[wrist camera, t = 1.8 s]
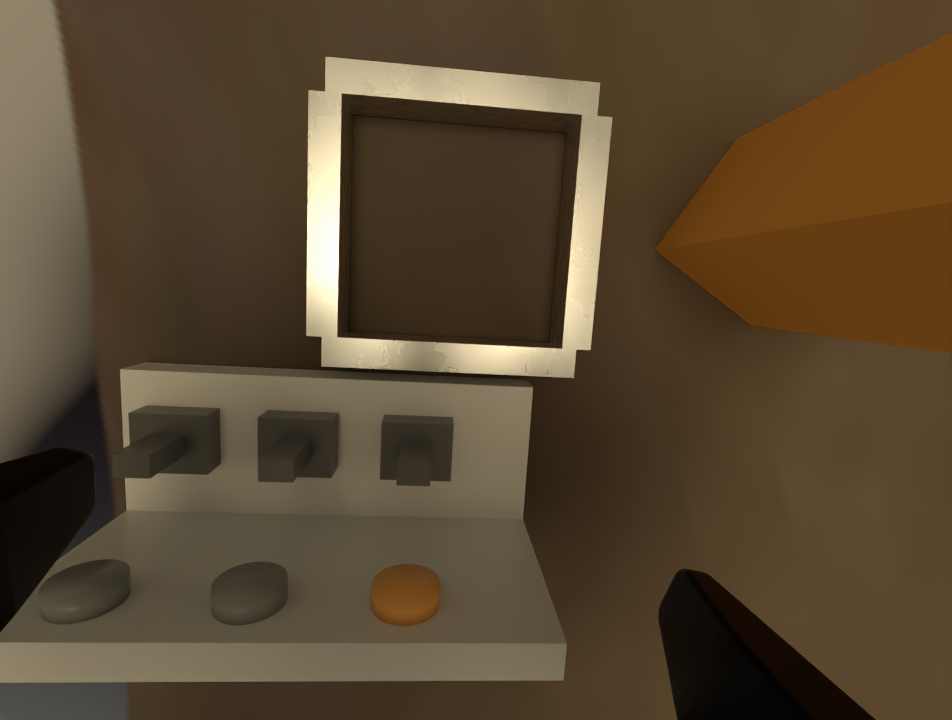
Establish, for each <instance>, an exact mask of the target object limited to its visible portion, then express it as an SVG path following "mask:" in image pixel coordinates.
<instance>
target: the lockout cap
mask: <svg viewBox="0 0 952 720" xmlns="http://www.w3.org/2000/svg"><path fill="white" fill-rule="evenodd" d="M655 250H656V251H657V252H658V253H659V254H661V255H662V256H663V257H664V258H666V259H667V260H668V261H669V262H671V263H672V264H673V265H675V266H676V267H677V268H678V269H680V270H681V271H682V272H683V273H685V274H686V275H687V276H688V277H690V278H691V279H692V280H694V281H695V282H696V283H697V284H699V285H700V286H701V287H702V288H704V289H705V290H706V291H707V292H709V293H710V294H711V295H713V296H714V297H715V298H716V299H718V300H719V301H720V302H721V303H723V304H724V305H725V306H726V307H728V308H729V309H730V310H732V311H733V312H734V313H735V314H737V315H738V316H739V317H740V318H742V319H743V320H744V321H745V322H747V323H748V324H749V325H751V326H756V327H764V328H771V329H779V330H786V331H793V332H801V333H808V334H816V335H823V336H831V337H838V338H845V339H853V340H860V341H868V342H875V343H882V344H890V345H897V346H905V347H912V348H920V349H927V350H934V351H942V352H949V353H952V33H950V34H948V35H946V36H944V37H942V38H940V39H938V40H936V41H934V42H932V43H930V44H928V45H926V46H924V47H922V48H920V49H918V50H915V51H913V52H911V53H909V54H907V55H905V56H903V57H901V58H899V59H897V60H895V61H893V62H891V63H889V64H887V65H885V66H883V67H881V68H879V69H877V70H875V71H873V72H871V73H869V74H867V75H864V76H862V77H860V78H858V79H856V80H854V81H852V82H850V83H848V84H846V85H844V86H842V87H840V88H838V89H836V90H834V91H832V92H830V93H828V94H826V95H824V96H822V97H820V98H818V99H816V100H813V101H811V102H809V103H807V104H805V105H803V106H801V107H799V108H797V109H795V110H793V111H791V112H789V113H787V114H785V115H783V116H781V117H779V118H777V119H775V120H773V121H771V122H769V123H767V124H765V125H762V126H760V127H758V128H756V129H754V130H752V131H750V132H748V133H746V134H744V135H742V136H740V137H738V138H736V140H735V141H734V142H733V144H732V145H731V147H730V148H729V149H728V151H727V152H726V153H725V155H724V156H723V157H722V159H721V160H720V161H719V163H718V164H717V166H716V167H715V168H714V170H713V171H712V172H711V174H710V175H709V176H708V178H707V179H706V180H705V182H704V183H703V185H702V186H701V187H700V189H699V190H698V191H697V193H696V194H695V195H694V197H693V198H692V199H691V201H690V202H689V204H688V205H687V206H686V208H685V209H684V210H683V212H682V213H681V214H680V216H679V217H678V218H677V220H676V221H675V223H674V224H673V225H672V227H671V228H670V229H669V231H668V232H667V233H666V235H665V236H664V237H663V239H662V240H661V242H660V243H659V244H658V246H657V247H656V248H655Z"/></svg>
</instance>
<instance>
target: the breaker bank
mask: <svg viewBox="0 0 952 720" xmlns="http://www.w3.org/2000/svg"><path fill="white" fill-rule="evenodd" d="M120 380H121V402H122V423H123V445H124V448H123V449H121V450H119V451H117V452H115V453H113V454H112V464H113V478H125V489H126V511H125V512H124V513H122V514H121V515H119V516H118V517H117V518H115V519H114V520H113V521H111V522H110V523H108V524H107V525H106V526H104V527H103V528H102V529H100V530H99V531H97V532H96V533H95V534H93V535H92V536H91V537H89V538H88V539H86V540H85V541H84V542H82V543H81V544H80V545H78V546H77V547H75V548H74V549H73V550H71V551H70V552H69V553H67V554H66V555H64V556H63V557H62V558H61V559H59V560H57V561H56V562H55V563H54V565H53V566H52V567H51V569H50V570H49V572H48V573H47V574H46V576H45V577H44V578H43V580H42V581H41V582H40V584H39V585H38V586H37V588H36V589H35V590H34V592H33V593H32V594H31V596H30V597H29V598H28V600H27V601H26V602H25V603H24V605H23V606H22V607H21V609H20V610H19V611H18V612H17V614H16V615H15V616H14V617H13V618H12V620H11V621H10V622H9V623H8V624H7V625H6V627H5V628H4V629H3V630H2V631H1V632H0V682H1V683H2V682H4V683H5V682H6V683H7V682H8V683H11V682H13V683H15V682H268V681H520V680H564V670H565V659H566V649H567V642H566V639H565V637H564V634H563V631H562V628H561V625H560V622H559V620H558V617H557V614H556V611H555V608H554V606H553V603H552V600H551V597H550V594H549V591H548V589H547V586H546V583H545V580H544V577H543V575H542V572H541V569H540V566H539V563H538V560H537V558H536V555H535V552H534V549H533V546H532V544H531V541H530V538H529V535H528V532H527V530H526V527H525V524H524V521H523V511H524V498H525V486H526V473H527V460H528V447H529V434H530V421H531V408H532V395H533V387H532V386H531V385H530V384H529V382H528V381H527V380H525V379H503V378H481V377H458V376H436V375H414V374H392V373H370V372H348V371H326V370H304V369H282V368H260V367H237V366H215V365H193V364H171V363H149V362H145V363H142V364H138V365H134V366H131V367H127V368H123V369H120Z"/></svg>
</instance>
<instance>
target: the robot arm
mask: <svg viewBox="0 0 952 720" xmlns="http://www.w3.org/2000/svg"><path fill="white" fill-rule="evenodd" d="M95 502H96V481H95V461H94V458H93V456H92V455H91V454H90V453H88V452H86V451H80V450H75V449H70V448H65V447H57V448H53V449H50V450H46V451H42V452H39V453H35V454H32V455H28V456H25V457H21V458H18V459H15V460H11V461H7V462H4V463H0V632H1V631H2V630H3V629H4V628H5V627H6V625H7V624H8V623H9V622H10V621H11V620H12V618H13V617H14V616H15V615H16V614H17V612H18V611H19V610H20V609H21V607H22V606H23V605H24V603H25V602H26V601H27V600H28V598H29V597H30V596H31V594H32V593H33V592H34V590H35V589H36V588H37V586H38V585H39V584H40V582H41V581H42V580H43V578H44V577H45V576H46V574H47V573H48V572H49V570H50V569H51V567H52V566H53V565H54V563H55V562H56V561H57V559H58V558H59V557H60V555H61V554H62V553H63V551H64V550H65V549H66V547H67V546H68V545H69V543H70V542H71V541H72V539H73V538H74V536H75V535H76V534H77V532H78V531H79V529H80V528H81V527H82V526H83V524H84V523H85V522H86V520H87V519H88V517H89V516H90V515H91V513H92V511H93V509H94V506H95ZM659 625H660V630H661V636H662V641H663V646H664V652H665V657H666V662H667V668H668V673H669V678H670V684H671V689H672V694H673V700H674V705H675V710H676V714H677V719H678V720H875V719H874V718H873V717H872V716H871V715H870V714H869V713H867V712H866V711H865V710H864V709H863V708H862V707H860V706H859V705H858V704H857V703H856V702H855V701H854V700H852V699H851V698H850V697H849V696H848V695H847V694H846V693H844V692H843V691H842V690H841V689H840V688H839V687H837V686H836V685H835V684H834V683H833V682H832V681H831V680H829V679H828V678H827V677H826V676H825V675H824V674H823V673H821V672H820V671H819V670H818V669H817V668H816V667H814V666H813V665H812V664H811V663H810V662H809V661H808V660H806V659H805V658H804V657H803V656H802V655H801V654H800V653H798V652H797V651H796V650H795V649H794V648H793V647H791V646H790V645H789V644H788V643H787V642H786V641H785V640H783V639H782V638H781V637H780V636H779V635H778V634H777V633H775V632H774V631H773V630H772V629H771V628H770V627H768V626H767V625H766V624H765V623H764V622H763V621H762V620H760V619H759V618H758V617H757V616H756V615H755V614H754V613H752V612H751V611H750V610H749V609H748V608H747V607H745V606H744V605H743V604H742V603H741V602H740V601H739V600H737V599H736V598H735V597H734V596H733V595H732V594H730V593H729V592H728V591H727V590H726V589H725V588H724V587H722V586H721V585H720V584H719V583H718V582H717V581H716V580H714V579H713V578H712V577H711V576H710V575H708V574H706V573H704V572H700V571H695V570H690V569H681V570H679V571H678V572H677V573H676V575H675V576H674V578H673V580H672V582H671V584H670V586H669V588H668V590H667V592H666V594H665V596H664V598H663V600H662V602H661V604H660V608H659Z"/></svg>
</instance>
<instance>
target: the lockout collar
mask: <svg viewBox="0 0 952 720" xmlns="http://www.w3.org/2000/svg"><path fill="white" fill-rule="evenodd" d="M599 91H600V83H596V82H586V81H575V80H565V79H554V78H544V77H533V76H523V75H512V74H502V73H491V72H480V71H470V70H459V69H449V68H438V67H428V66H417V65H407V64H396V63H386V62H375V61H365V60H354V59H344V58H333V57H326V69H325V92H323V91H312V90H309V101H308V206H307V311H306V336H319V337H322V352H321V366H323V367H345V368H366V369H388V370H410V371H432V372H454V373H475V374H497V375H519V376H541V377H563V378H574V370H575V359H576V350H591V340H592V329H593V318H594V308H595V297H596V286H597V276H598V265H599V254H600V244H601V233H602V222H603V212H604V201H605V190H606V180H607V169H608V158H609V148H610V137H611V127H612V117H603V116H597V113H598V102H599ZM353 115H362V116H373V117H385V118H397V119H408V120H420V121H431V122H443V123H455V124H466V125H478V126H489V127H501V128H513V129H524V130H536V131H548V132H559V133H566V145H565V157H564V169H563V182H562V194H561V206H560V219H559V231H558V243H557V255H556V268H555V280H554V292H553V304H552V317H551V329H550V341H549V342H538V341H519V340H499V339H480V338H461V337H441V336H422V335H402V334H383V333H364V332H348V307H349V261H350V216H351V170H352V124H353Z"/></svg>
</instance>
